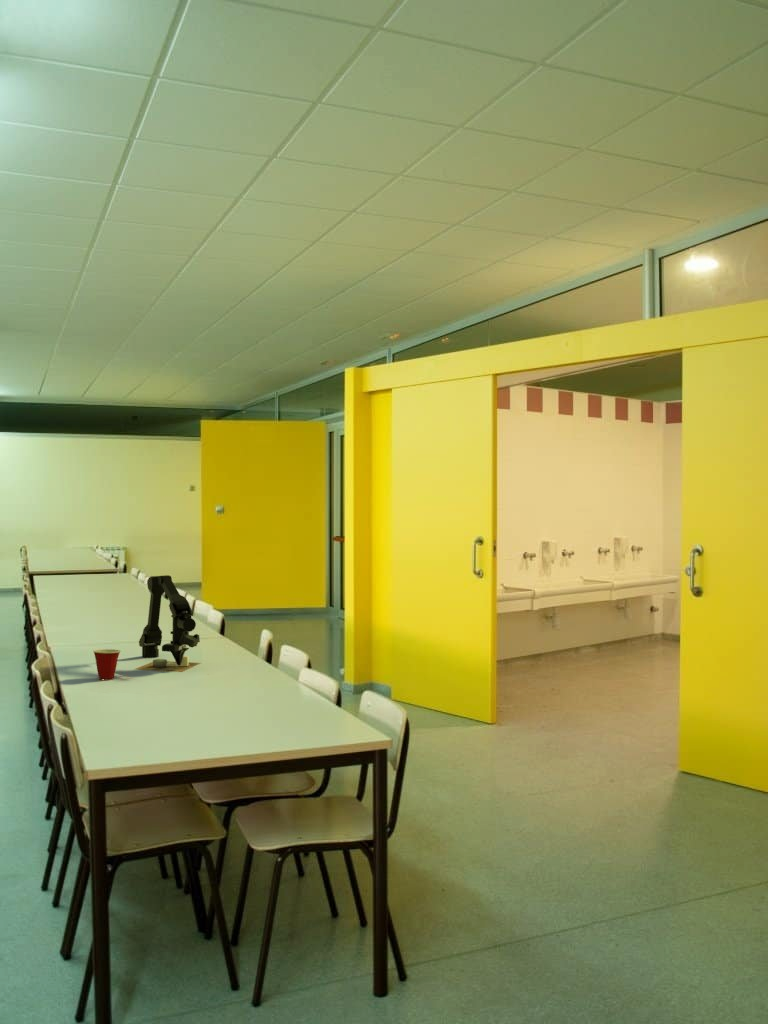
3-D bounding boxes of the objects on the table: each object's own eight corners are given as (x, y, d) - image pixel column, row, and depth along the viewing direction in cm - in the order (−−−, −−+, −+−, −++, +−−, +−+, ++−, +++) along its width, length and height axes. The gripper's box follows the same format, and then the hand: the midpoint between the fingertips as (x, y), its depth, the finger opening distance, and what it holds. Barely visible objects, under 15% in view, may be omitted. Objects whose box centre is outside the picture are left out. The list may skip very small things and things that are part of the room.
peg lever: (151, 667, 370) (151, 657, 369) (154, 664, 376) (154, 655, 375) (186, 667, 370) (186, 657, 370) (189, 664, 376) (189, 655, 376)
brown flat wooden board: (133, 672, 367) (133, 669, 366) (156, 663, 387) (156, 660, 387) (181, 674, 362) (181, 671, 362) (202, 665, 382) (202, 662, 382)
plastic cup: (126, 677, 355) (126, 648, 355) (107, 682, 345) (107, 652, 345) (106, 675, 360) (106, 646, 360) (87, 680, 350) (87, 650, 350)
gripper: (184, 632, 358) (184, 670, 358) (206, 626, 376) (206, 662, 376) (161, 631, 362) (160, 668, 362) (184, 625, 379) (183, 660, 380)
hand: (179, 665), depth 370 cm, fingers closed
